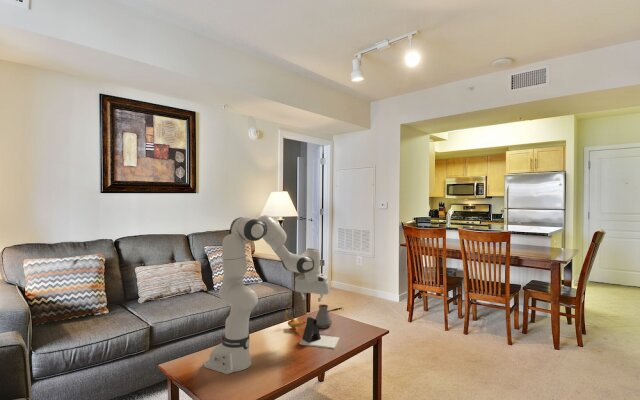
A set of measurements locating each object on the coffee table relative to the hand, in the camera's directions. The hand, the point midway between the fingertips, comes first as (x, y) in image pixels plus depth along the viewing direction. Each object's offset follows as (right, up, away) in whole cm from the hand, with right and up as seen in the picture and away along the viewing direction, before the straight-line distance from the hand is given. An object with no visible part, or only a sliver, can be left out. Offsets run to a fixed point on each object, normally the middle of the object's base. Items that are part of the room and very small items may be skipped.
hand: (311, 300), depth 193 cm
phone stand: (0, -22, 0) cm, 22 cm away
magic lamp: (-11, -23, +15) cm, 29 cm away
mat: (+5, -23, -1) cm, 24 cm away
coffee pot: (+10, -23, +20) cm, 32 cm away
